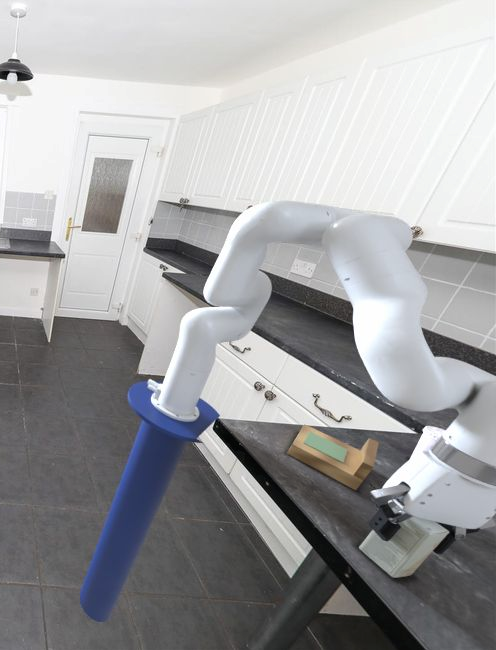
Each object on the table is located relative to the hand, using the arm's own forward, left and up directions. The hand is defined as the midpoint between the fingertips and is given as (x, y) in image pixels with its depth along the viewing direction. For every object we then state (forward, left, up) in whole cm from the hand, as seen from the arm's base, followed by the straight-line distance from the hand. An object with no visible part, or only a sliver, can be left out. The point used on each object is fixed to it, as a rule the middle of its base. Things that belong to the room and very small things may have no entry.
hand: (403, 538), depth 56 cm
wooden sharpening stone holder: (-11, +24, -6) cm, 27 cm away
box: (0, 0, -6) cm, 6 cm away
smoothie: (+4, +44, -6) cm, 45 cm away
